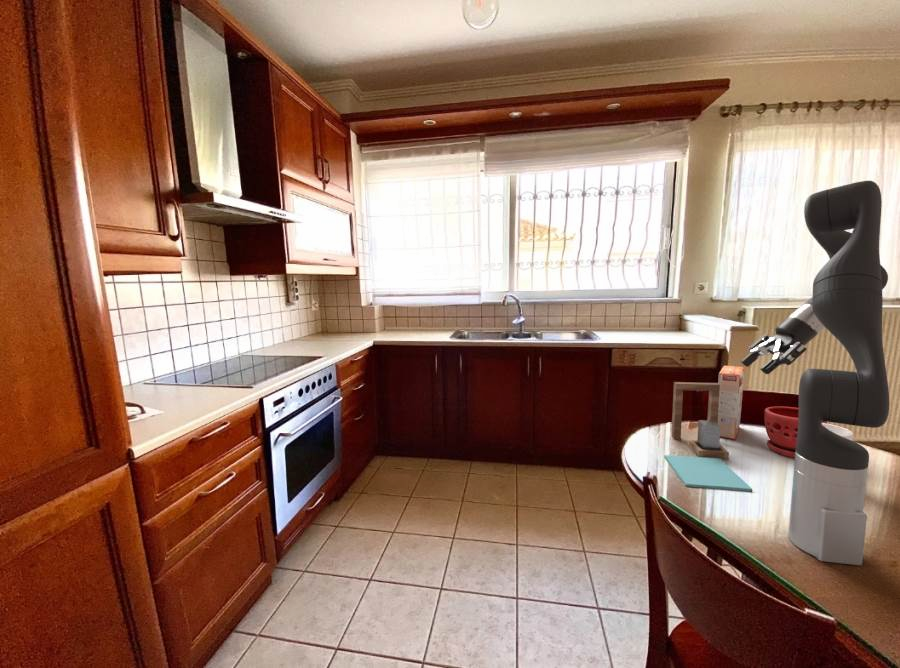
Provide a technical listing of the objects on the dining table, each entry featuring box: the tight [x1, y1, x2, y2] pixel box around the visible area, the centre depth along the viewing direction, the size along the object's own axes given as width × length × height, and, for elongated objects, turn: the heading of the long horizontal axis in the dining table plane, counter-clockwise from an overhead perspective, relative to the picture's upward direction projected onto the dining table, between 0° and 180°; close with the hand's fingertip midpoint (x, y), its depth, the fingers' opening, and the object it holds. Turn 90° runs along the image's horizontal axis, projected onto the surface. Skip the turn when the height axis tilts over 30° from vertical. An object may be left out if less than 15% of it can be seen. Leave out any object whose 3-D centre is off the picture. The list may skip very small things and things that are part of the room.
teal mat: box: [663, 454, 753, 492], centre depth 98 cm, size 16×14×1 cm
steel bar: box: [696, 419, 721, 450], centre depth 109 cm, size 4×4×9 cm
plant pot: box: [763, 406, 828, 459], centre depth 107 cm, size 13×13×12 cm
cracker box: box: [717, 365, 745, 441], centre depth 123 cm, size 14×6×21 cm, turn 139°
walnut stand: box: [671, 381, 730, 460], centre depth 112 cm, size 15×12×18 cm
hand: (753, 368), depth 104 cm, fingers open, 8 cm apart
